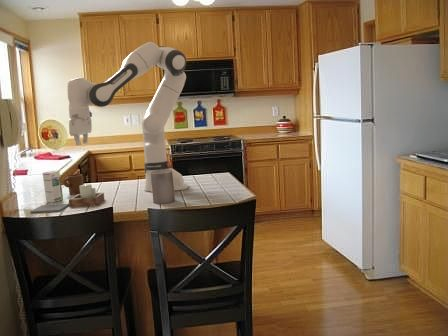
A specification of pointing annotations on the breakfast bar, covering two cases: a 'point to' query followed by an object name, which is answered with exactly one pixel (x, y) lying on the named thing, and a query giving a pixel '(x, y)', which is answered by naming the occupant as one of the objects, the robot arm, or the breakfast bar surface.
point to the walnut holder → (86, 200)
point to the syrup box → (52, 186)
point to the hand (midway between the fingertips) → (81, 144)
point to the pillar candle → (162, 186)
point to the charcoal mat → (50, 208)
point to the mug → (74, 183)
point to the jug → (87, 191)
